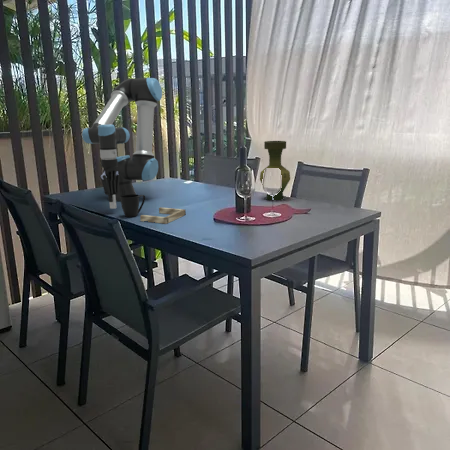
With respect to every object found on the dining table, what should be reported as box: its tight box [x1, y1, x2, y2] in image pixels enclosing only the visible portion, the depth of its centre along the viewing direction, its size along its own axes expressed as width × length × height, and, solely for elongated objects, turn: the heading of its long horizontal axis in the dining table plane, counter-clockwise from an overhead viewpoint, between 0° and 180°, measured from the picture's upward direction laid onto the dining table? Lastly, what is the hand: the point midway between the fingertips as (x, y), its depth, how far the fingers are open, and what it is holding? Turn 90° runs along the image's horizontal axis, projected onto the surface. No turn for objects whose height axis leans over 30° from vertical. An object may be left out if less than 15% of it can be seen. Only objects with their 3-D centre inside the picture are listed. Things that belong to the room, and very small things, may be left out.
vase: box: [259, 140, 291, 201], centre depth 234 cm, size 16×16×30 cm
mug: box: [120, 193, 146, 218], centre depth 208 cm, size 8×12×10 cm
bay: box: [139, 206, 187, 225], centre depth 203 cm, size 14×17×2 cm
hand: (113, 208), depth 213 cm, fingers closed
